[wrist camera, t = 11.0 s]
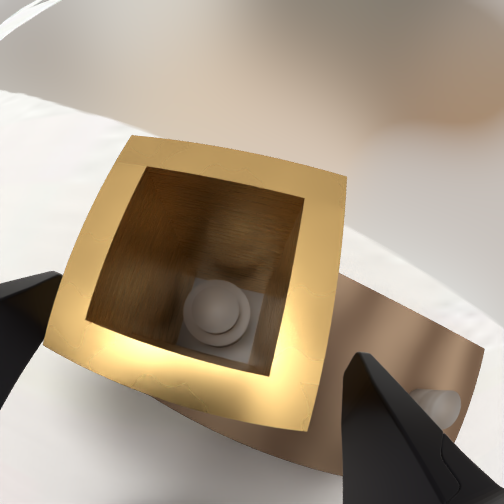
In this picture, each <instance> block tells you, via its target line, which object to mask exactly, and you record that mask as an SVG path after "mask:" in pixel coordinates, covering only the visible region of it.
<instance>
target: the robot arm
mask: <svg viewBox="0 0 504 504" xmlns="http://www.w3.org/2000/svg"><path fill="white" fill-rule="evenodd" d="M62 277H63V275H62V274H60V273H58V272H55V271H50V272H45V273H41V274H37V275H33V276H29V277H25V278H21V279H17V280H13V281H9V282H5V283H1V284H0V410H1V408H2V406H3V404H4V402H5V401H6V399H7V397H8V395H9V394H10V392H11V390H12V388H13V387H14V385H15V383H16V382H17V380H18V378H19V377H20V375H21V373H22V372H23V370H24V369H25V367H26V366H27V364H28V362H29V361H30V359H31V358H32V356H33V355H34V353H35V352H36V350H37V349H38V347H39V346H40V344H41V343H42V342H43V340H44V338H45V334H46V330H47V326H48V322H49V318H50V315H51V311H52V308H53V305H54V301H55V298H56V295H57V292H58V289H59V286H60V283H61V280H62ZM341 436H342V461H343V504H504V488H502V487H500V486H499V485H498V484H497V483H495V482H494V481H493V480H492V479H491V478H490V477H489V476H488V475H487V474H485V473H484V472H483V471H482V470H481V469H480V468H479V467H478V466H477V465H476V464H475V463H473V462H472V461H471V460H470V459H469V458H468V457H467V456H466V455H465V454H464V453H463V452H462V451H461V450H460V449H459V448H458V447H457V446H456V445H455V444H454V443H453V441H452V440H451V439H450V438H449V437H448V436H447V435H446V434H445V433H443V431H442V429H441V428H440V427H439V426H438V425H437V424H436V423H435V422H434V421H433V420H432V419H431V417H430V416H429V415H428V414H427V413H426V412H425V411H424V410H423V409H422V408H421V407H420V406H419V404H418V403H417V402H416V401H415V400H414V399H413V398H412V397H411V396H410V395H409V394H408V393H407V392H406V391H405V389H404V388H403V387H402V386H401V385H400V384H399V383H398V382H397V381H396V380H395V379H394V378H393V377H392V376H391V375H390V373H389V372H388V371H387V370H386V369H385V368H384V367H383V366H382V365H381V364H380V363H379V362H378V361H377V360H376V359H375V358H374V357H373V356H372V355H371V354H370V353H366V352H356V353H355V354H354V356H353V358H352V359H351V361H350V363H349V365H348V366H347V368H346V370H345V372H344V375H343V391H342V412H341Z"/></svg>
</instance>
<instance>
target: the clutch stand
mask: <svg viewBox="0 0 504 504" xmlns="http://www.w3.org/2000/svg"><path fill="white" fill-rule="evenodd" d="M263 297H264V294H262V293H257V292H253V291H249V290H245V289H241V288H238V287H237V286H236V285H234V284H232V283H230V282H228V281H224V280H209V281H208V280H204V279H201V278H197V277H195V281H194V284H193V287H192V291H191V292H190V293H189V295H188V296H187V298H186V301H185V304H184V308H183V316H184V319H183V322H182V326H181V330H180V333H179V337H178V341H177V344H176V345H179V346H182V347H186V348H189V349H193V350H196V351H200V352H203V353H207V354H211V355H214V356H218V357H222V358H226V359H230V360H234V361H239V362H243V363H247V364H248V361H249V357H250V352H251V348H252V344H253V340H254V336H255V331H256V327H257V323H258V319H259V314H260V310H261V306H262V301H263ZM484 350H485V349H484V348H482V347H480V346H478V345H477V344H475V343H473V342H471V341H469V340H467V339H465V338H464V337H462V336H460V335H458V334H456V333H454V332H452V331H451V330H449V329H447V328H445V327H443V326H441V325H439V324H437V323H435V322H434V321H432V320H430V319H428V318H426V317H424V316H422V315H420V314H418V313H416V312H415V311H413V310H411V309H409V308H407V307H405V306H403V305H401V304H399V303H397V302H395V301H393V300H391V299H389V298H387V297H386V296H384V295H382V294H380V293H378V292H376V291H374V290H372V289H370V288H368V287H366V286H364V285H362V284H360V283H358V282H356V281H354V280H352V279H350V278H348V277H346V276H344V275H342V274H340V273H338V280H337V288H336V295H335V301H334V308H333V314H332V320H331V326H330V332H329V337H328V343H327V348H326V353H325V358H324V363H323V368H322V373H321V377H320V382H319V386H318V391H317V395H316V399H315V403H314V407H313V411H312V415H311V419H310V423H309V427H308V430H307V432H306V431H298V430H290V429H283V428H276V427H270V426H264V425H258V424H253V423H248V422H243V421H238V420H233V419H229V418H225V417H221V416H216V415H213V414H209V413H205V412H201V411H198V410H194V409H191V408H187V407H184V406H181V405H177V404H174V403H171V402H168V401H165V400H162V399H159V398H156V397H153V396H151V395H150V396H151V397H153V398H155V399H156V400H158V401H160V402H161V403H163V404H165V405H166V406H168V407H170V408H171V409H173V410H175V411H177V412H178V413H180V414H182V415H184V416H186V417H188V418H189V419H191V420H193V421H195V422H197V423H199V424H201V425H203V426H205V427H207V428H209V429H211V430H213V431H215V432H217V433H219V434H221V435H224V436H226V437H228V438H230V439H233V440H235V441H237V442H239V443H242V444H244V445H247V446H249V447H251V448H254V449H256V450H259V451H262V452H264V453H267V454H270V455H272V456H275V457H278V458H281V459H284V460H287V461H290V462H293V463H296V464H299V465H302V466H306V467H309V468H313V469H316V470H320V471H324V472H327V473H331V474H336V475H340V476H343V461H342V436H341V412H342V391H343V375H344V372H345V370H346V368H347V366H348V365H349V363H350V361H351V359H352V358H353V356H354V354H355V353H356V352H366V353H370V354H371V355H372V356H373V357H374V358H375V359H376V360H377V361H378V362H379V363H380V364H381V365H382V366H383V367H384V368H385V369H386V370H387V371H388V372H389V373H390V375H391V376H392V377H393V378H394V379H395V380H396V381H397V382H398V383H399V384H400V385H401V386H402V387H403V388H404V389H405V391H406V392H407V393H408V394H409V395H410V396H411V397H412V398H413V399H414V400H415V401H416V402H417V403H418V404H419V406H420V407H421V408H422V409H423V410H424V411H425V412H426V413H427V414H428V415H429V416H430V417H431V419H432V420H433V421H434V422H435V423H436V424H437V425H438V426H439V427H440V428H441V429H442V431H443V433H445V434H446V435H447V436H448V437H449V438H450V439H451V440H452V441H453V443H454V442H455V440H456V438H457V435H458V433H459V431H460V428H461V426H462V423H463V421H464V418H465V415H466V413H467V410H468V407H469V404H470V401H471V398H472V395H473V392H474V389H475V385H476V382H477V378H478V375H479V371H480V367H481V363H482V359H483V354H484Z"/></svg>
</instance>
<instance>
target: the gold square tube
mask: <svg viewBox="0 0 504 504" xmlns="http://www.w3.org/2000/svg"><path fill="white" fill-rule="evenodd" d="M346 184H347V177H346V176H343V175H339V174H336V173H332V172H329V171H325V170H321V169H318V168H314V167H310V166H306V165H302V164H298V163H294V162H290V161H286V160H282V159H277V158H273V157H268V156H264V155H259V154H254V153H249V152H244V151H239V150H234V149H229V148H223V147H217V146H211V145H205V144H199V143H192V142H185V141H178V140H171V139H163V138H154V137H145V136H134V135H131V137H130V139H129V140H128V142H127V143H126V145H125V147H124V148H123V150H122V152H121V153H120V155H119V157H118V158H117V160H116V162H115V164H114V165H113V167H112V169H111V171H110V172H109V174H108V176H107V178H106V180H105V182H104V183H103V185H102V187H101V189H100V191H99V193H98V195H97V197H96V199H95V201H94V203H93V205H92V207H91V209H90V211H89V213H88V216H87V218H86V220H85V222H84V224H83V227H82V229H81V231H80V233H79V236H78V238H77V241H76V243H75V245H74V248H73V250H72V253H71V255H70V258H69V261H68V263H67V266H66V269H65V271H64V274H63V277H62V280H61V283H60V286H59V289H58V292H57V295H56V298H55V301H54V305H53V308H52V311H51V315H50V318H49V322H48V326H47V330H46V334H45V338H44V342H43V345H44V346H45V347H47V348H49V349H50V350H52V351H54V352H56V353H58V354H59V355H61V356H63V357H65V358H67V359H69V360H71V361H72V362H74V363H76V364H78V365H80V366H82V367H84V368H86V369H88V370H91V371H93V372H95V373H97V374H99V375H101V376H104V377H106V378H108V379H110V380H113V381H115V382H117V383H120V384H122V385H124V386H127V387H129V388H132V389H135V390H137V391H140V392H142V393H145V394H148V395H151V396H153V397H156V398H159V399H162V400H165V401H168V402H171V403H174V404H177V405H181V406H184V407H187V408H191V409H194V410H198V411H201V412H205V413H209V414H213V415H216V416H221V417H225V418H229V419H233V420H238V421H243V422H248V423H253V424H258V425H264V426H270V427H276V428H283V429H290V430H298V431H306V432H307V430H308V427H309V423H310V419H311V415H312V411H313V407H314V403H315V399H316V395H317V391H318V386H319V382H320V377H321V373H322V368H323V363H324V358H325V353H326V348H327V343H328V337H329V332H330V326H331V320H332V314H333V308H334V301H335V295H336V288H337V280H338V273H339V265H340V256H341V247H342V237H343V226H344V214H345V200H346ZM195 277H197V278H201V279H204V280H208V281H209V280H224V281H228V282H230V283H232V284H234V285H236V286H237V287H238V288H241V289H245V290H249V291H253V292H257V293H262V294H264V297H263V301H262V306H261V310H260V314H259V319H258V323H257V327H256V331H255V336H254V340H253V344H252V348H251V352H250V357H249V361H248V364H247V363H243V362H239V361H234V360H230V359H226V358H222V357H218V356H214V355H211V354H207V353H203V352H200V351H196V350H193V349H189V348H186V347H182V346H179V345H176V344H177V341H178V337H179V333H180V330H181V326H182V322H183V319H184V316H183V308H184V304H185V301H186V298H187V296H188V295H189V293H190V292H191V291H192V287H193V284H194V281H195Z"/></svg>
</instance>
